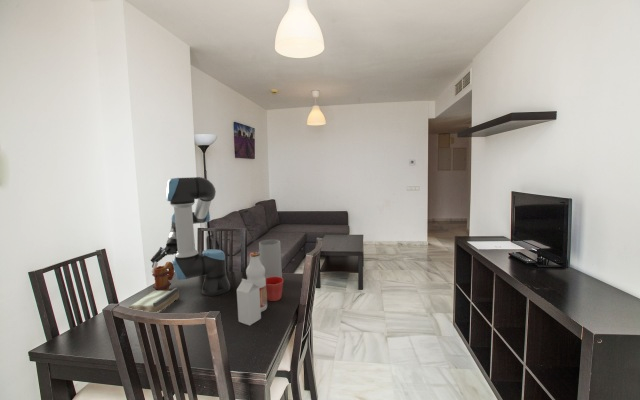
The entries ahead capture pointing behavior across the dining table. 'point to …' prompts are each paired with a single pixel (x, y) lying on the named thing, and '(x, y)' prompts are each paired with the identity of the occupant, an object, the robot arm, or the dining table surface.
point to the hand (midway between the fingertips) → (165, 272)
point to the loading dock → (156, 300)
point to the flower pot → (274, 288)
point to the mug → (163, 276)
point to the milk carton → (248, 302)
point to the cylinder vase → (271, 257)
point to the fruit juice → (257, 277)
